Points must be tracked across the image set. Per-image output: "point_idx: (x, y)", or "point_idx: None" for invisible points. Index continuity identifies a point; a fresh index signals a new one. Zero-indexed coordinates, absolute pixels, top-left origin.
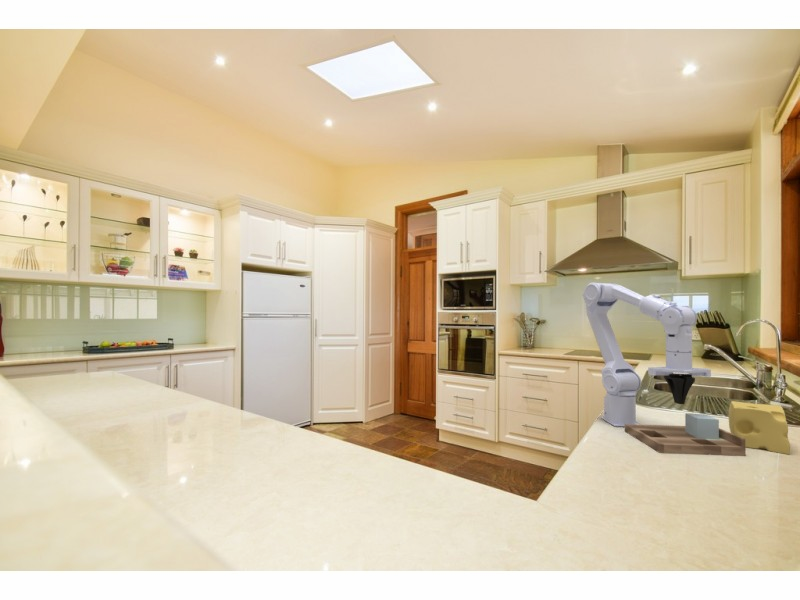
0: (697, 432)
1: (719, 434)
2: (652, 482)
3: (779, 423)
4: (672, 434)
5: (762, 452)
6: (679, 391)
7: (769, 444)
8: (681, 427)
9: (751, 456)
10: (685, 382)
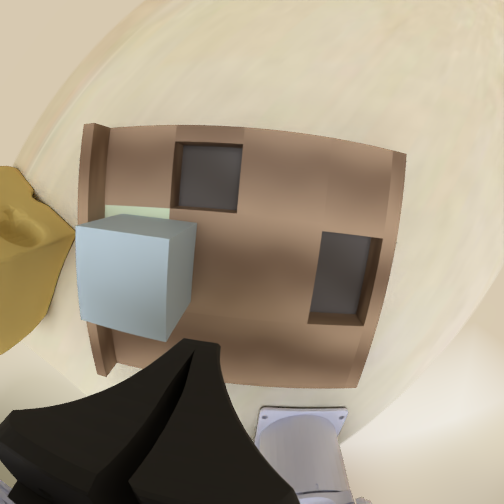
0: (190, 225)
1: None
2: (477, 25)
3: None
4: (266, 275)
5: (52, 175)
6: (211, 397)
7: (20, 189)
8: None
9: None
10: (122, 451)
